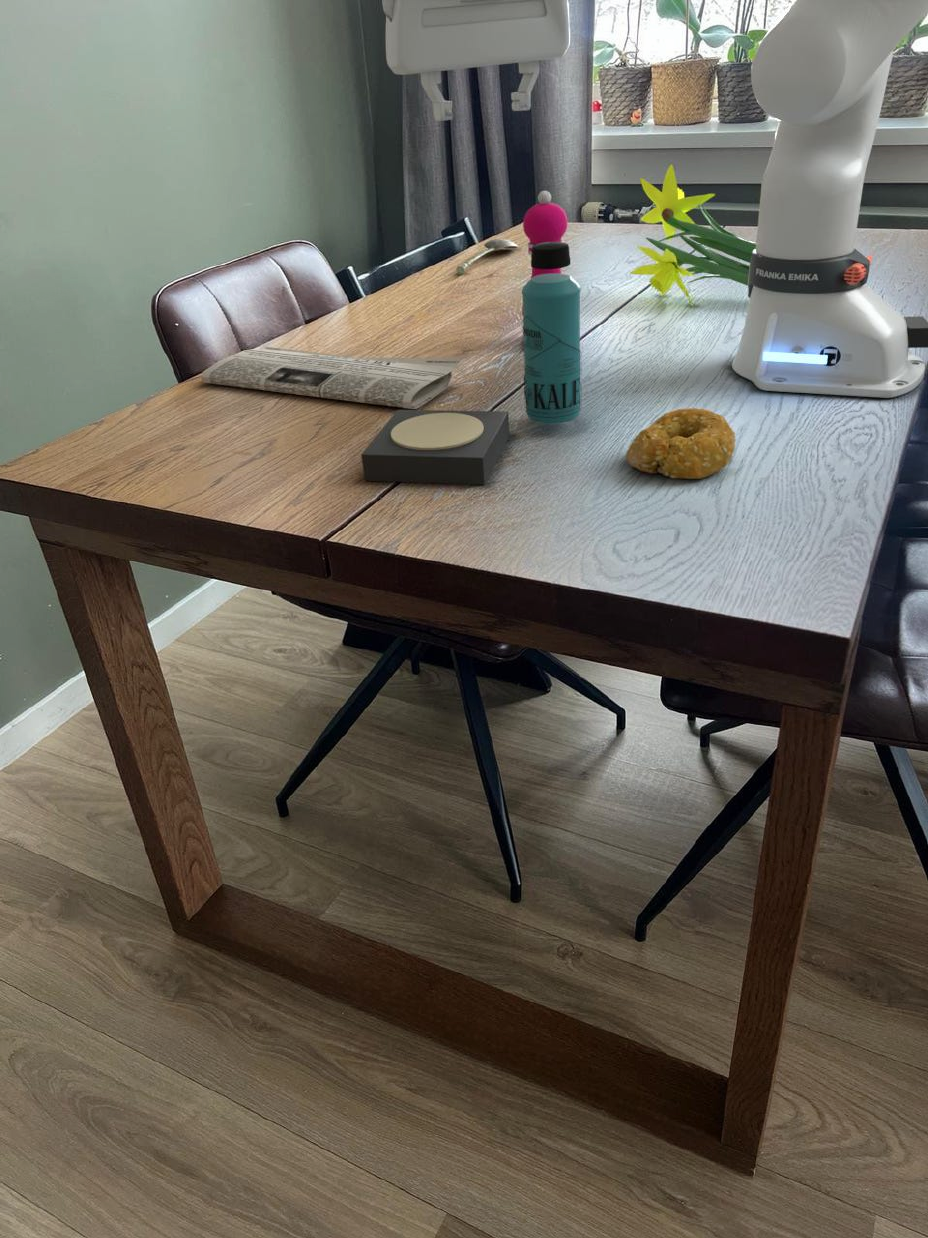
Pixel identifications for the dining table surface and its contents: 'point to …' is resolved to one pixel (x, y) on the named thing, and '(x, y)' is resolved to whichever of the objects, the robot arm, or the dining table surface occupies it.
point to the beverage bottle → (551, 338)
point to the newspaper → (336, 376)
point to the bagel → (684, 444)
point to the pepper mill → (544, 227)
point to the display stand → (437, 447)
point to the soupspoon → (491, 247)
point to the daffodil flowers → (689, 241)
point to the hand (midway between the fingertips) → (483, 115)
